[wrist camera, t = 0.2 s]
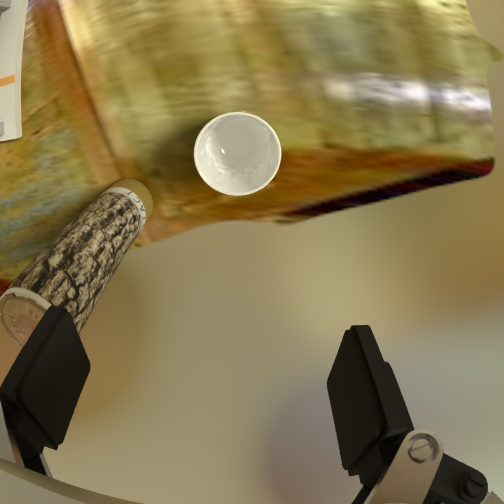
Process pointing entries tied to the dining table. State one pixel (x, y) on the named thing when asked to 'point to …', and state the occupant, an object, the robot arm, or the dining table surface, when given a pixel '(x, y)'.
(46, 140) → the dining table surface
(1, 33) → the pipe stand
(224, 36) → the dining table surface
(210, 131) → the white cup
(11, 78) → the orange strap
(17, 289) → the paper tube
